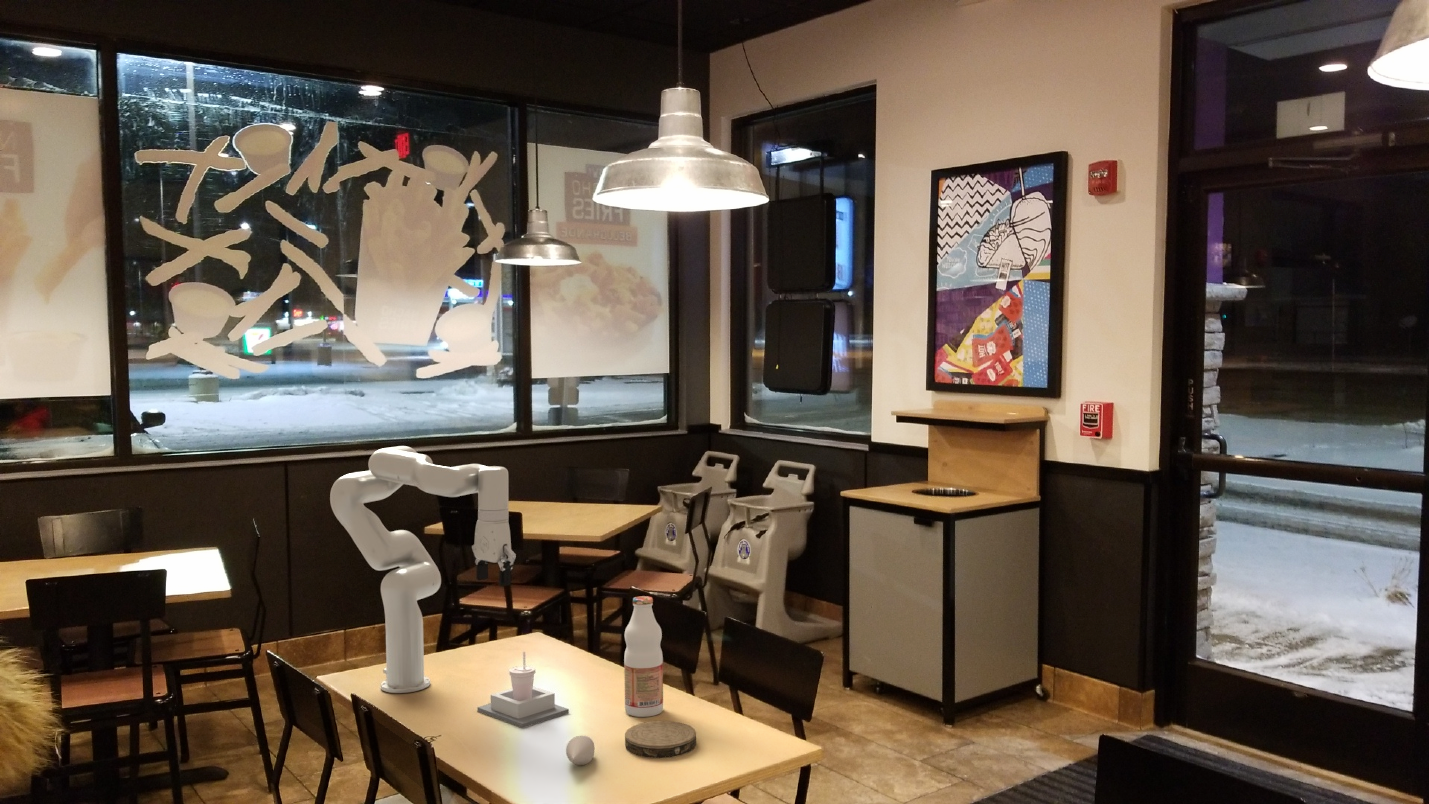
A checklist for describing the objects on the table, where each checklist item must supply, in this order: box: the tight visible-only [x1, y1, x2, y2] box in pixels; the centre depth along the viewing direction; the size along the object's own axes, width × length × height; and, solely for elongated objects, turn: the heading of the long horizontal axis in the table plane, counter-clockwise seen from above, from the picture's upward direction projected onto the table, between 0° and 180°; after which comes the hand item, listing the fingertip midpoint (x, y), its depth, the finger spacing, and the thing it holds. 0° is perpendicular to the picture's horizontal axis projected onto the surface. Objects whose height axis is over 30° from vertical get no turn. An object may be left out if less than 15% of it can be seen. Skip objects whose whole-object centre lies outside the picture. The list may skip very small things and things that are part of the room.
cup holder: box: [476, 685, 570, 729], centre depth 262 cm, size 18×14×4 cm
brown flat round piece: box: [624, 720, 697, 759], centre depth 240 cm, size 16×16×3 cm
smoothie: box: [508, 651, 536, 701], centre depth 262 cm, size 6×6×14 cm
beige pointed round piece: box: [565, 735, 596, 766], centre depth 228 cm, size 6×6×15 cm
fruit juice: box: [623, 595, 664, 718], centre depth 262 cm, size 9×9×28 cm
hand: (493, 582), depth 272 cm, fingers open, 9 cm apart
